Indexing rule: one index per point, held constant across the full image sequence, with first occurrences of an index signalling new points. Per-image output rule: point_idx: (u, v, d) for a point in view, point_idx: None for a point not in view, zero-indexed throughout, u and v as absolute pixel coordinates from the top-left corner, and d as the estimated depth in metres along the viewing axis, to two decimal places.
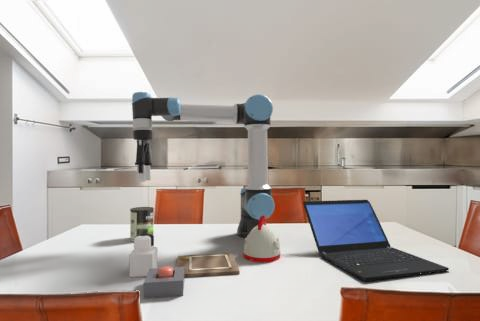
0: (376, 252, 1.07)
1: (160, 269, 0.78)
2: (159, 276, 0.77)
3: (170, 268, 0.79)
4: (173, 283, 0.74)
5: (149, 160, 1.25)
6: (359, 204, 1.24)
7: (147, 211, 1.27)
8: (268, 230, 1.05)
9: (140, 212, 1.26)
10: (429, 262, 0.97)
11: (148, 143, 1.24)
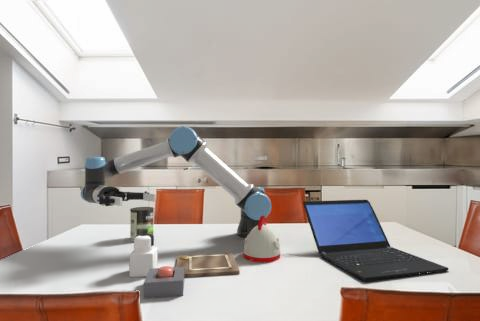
0: (376, 252, 1.07)
1: (160, 269, 0.78)
2: (159, 276, 0.77)
3: (170, 268, 0.79)
4: (173, 283, 0.74)
5: (140, 193, 1.12)
6: (359, 204, 1.24)
7: (147, 211, 1.27)
8: (268, 230, 1.05)
9: (140, 212, 1.26)
10: (429, 262, 0.97)
11: None
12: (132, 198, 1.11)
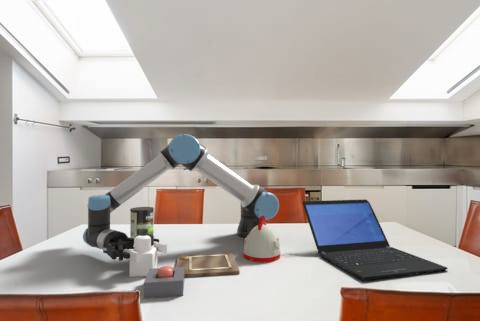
0: (375, 252, 1.08)
1: (160, 269, 0.78)
2: (159, 276, 0.77)
3: (170, 268, 0.79)
4: (173, 283, 0.74)
5: None
6: (358, 204, 1.25)
7: (147, 211, 1.27)
8: (268, 230, 1.05)
9: (140, 212, 1.26)
10: (428, 262, 0.97)
11: None
12: None
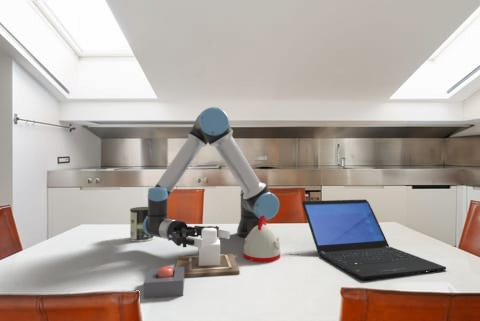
0: (374, 251, 1.08)
1: (160, 269, 0.78)
2: (159, 276, 0.77)
3: (170, 268, 0.79)
4: (173, 283, 0.74)
5: None
6: (358, 204, 1.25)
7: (147, 211, 1.27)
8: (268, 230, 1.05)
9: (140, 212, 1.26)
10: (427, 261, 0.97)
11: (194, 226, 1.09)
12: None
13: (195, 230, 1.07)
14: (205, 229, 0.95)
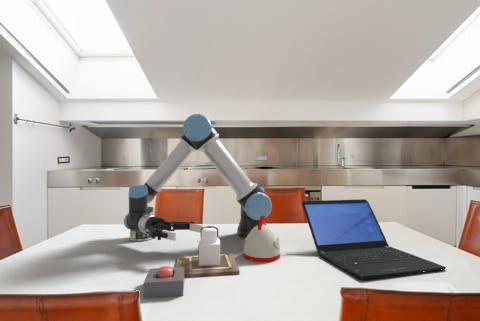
0: (374, 251, 1.08)
1: (160, 269, 0.78)
2: (159, 276, 0.77)
3: (170, 268, 0.79)
4: (173, 283, 0.74)
5: (186, 223, 1.13)
6: (357, 204, 1.25)
7: None
8: (268, 230, 1.05)
9: None
10: (426, 261, 0.98)
11: (172, 221, 1.17)
12: (178, 228, 1.12)
13: (172, 225, 1.15)
14: (205, 229, 0.95)
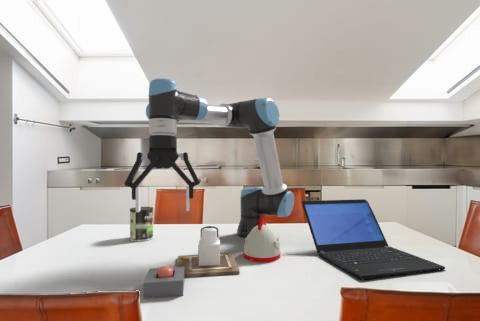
0: (374, 251, 1.08)
1: (160, 269, 0.78)
2: (159, 276, 0.77)
3: (170, 268, 0.79)
4: (173, 283, 0.74)
5: None
6: (357, 204, 1.25)
7: (146, 211, 1.27)
8: (268, 230, 1.05)
9: (139, 212, 1.26)
10: (426, 261, 0.98)
11: None
12: (146, 174, 0.78)
13: None
14: (205, 229, 0.95)
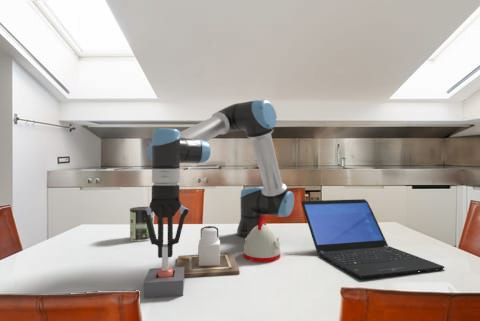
0: (373, 251, 1.09)
1: (160, 270, 0.78)
2: (159, 277, 0.77)
3: (170, 269, 0.79)
4: (173, 283, 0.74)
5: None
6: (357, 204, 1.26)
7: None
8: (268, 230, 1.05)
9: (139, 212, 1.26)
10: (425, 261, 0.98)
11: None
12: (162, 226, 0.78)
13: (150, 211, 0.78)
14: (205, 229, 0.95)
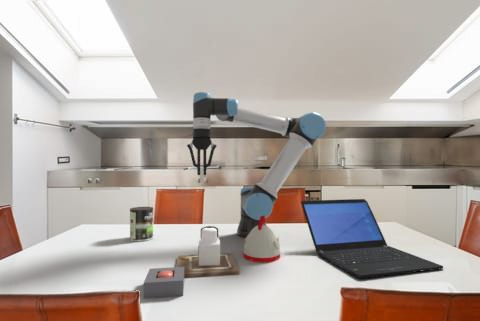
0: (372, 250, 1.09)
1: (160, 274, 0.78)
2: None
3: (170, 272, 0.79)
4: (173, 283, 0.74)
5: None
6: (356, 203, 1.26)
7: (146, 211, 1.27)
8: (268, 230, 1.05)
9: (139, 212, 1.26)
10: (424, 260, 0.98)
11: None
12: None
13: (192, 145, 1.23)
14: (205, 229, 0.95)
